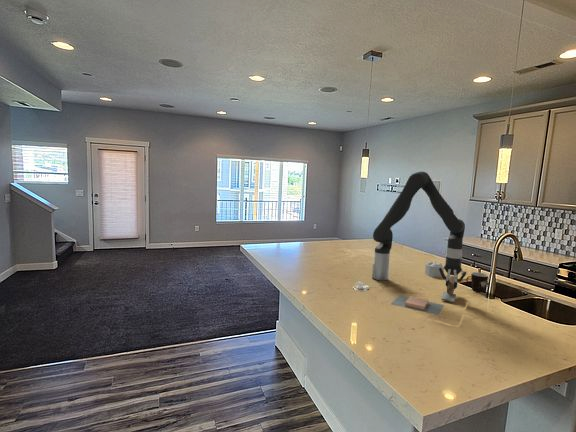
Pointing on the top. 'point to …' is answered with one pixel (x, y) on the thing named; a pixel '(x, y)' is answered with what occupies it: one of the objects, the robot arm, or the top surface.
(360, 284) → the teacup and saucer
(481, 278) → the coffee mug
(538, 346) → the top surface
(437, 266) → the lumpy-topped squat cylinder
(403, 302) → the slate mat
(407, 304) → the tile
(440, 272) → the robot arm
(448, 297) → the turner
